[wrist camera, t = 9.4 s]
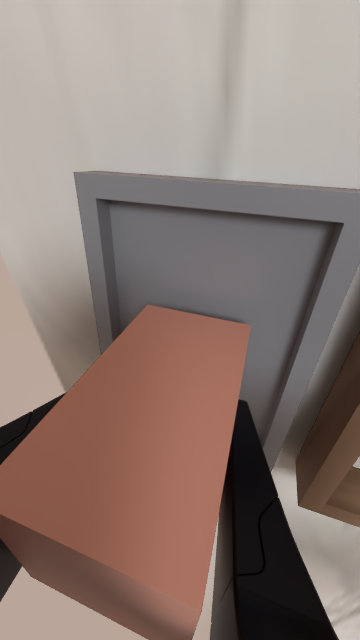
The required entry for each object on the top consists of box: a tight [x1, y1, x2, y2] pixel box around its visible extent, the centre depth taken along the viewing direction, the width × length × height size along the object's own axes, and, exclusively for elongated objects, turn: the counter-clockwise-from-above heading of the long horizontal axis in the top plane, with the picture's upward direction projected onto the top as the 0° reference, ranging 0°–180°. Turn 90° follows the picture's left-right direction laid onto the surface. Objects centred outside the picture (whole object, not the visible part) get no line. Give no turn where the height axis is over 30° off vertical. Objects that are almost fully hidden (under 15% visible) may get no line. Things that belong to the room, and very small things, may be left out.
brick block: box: [0, 305, 251, 640], centre depth 9 cm, size 4×4×8 cm
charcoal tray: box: [74, 171, 360, 472], centre depth 13 cm, size 10×14×2 cm
